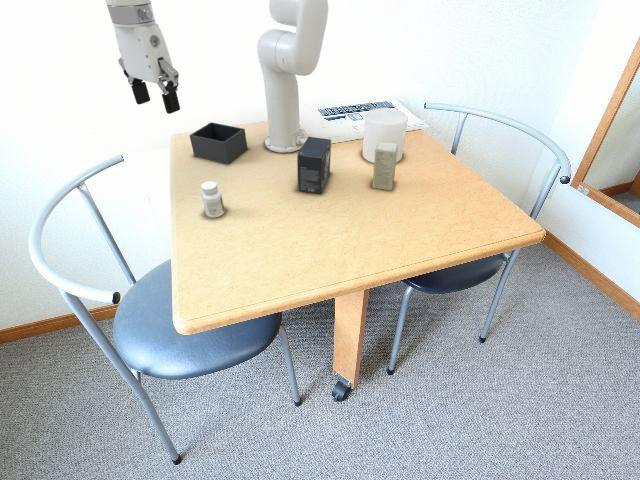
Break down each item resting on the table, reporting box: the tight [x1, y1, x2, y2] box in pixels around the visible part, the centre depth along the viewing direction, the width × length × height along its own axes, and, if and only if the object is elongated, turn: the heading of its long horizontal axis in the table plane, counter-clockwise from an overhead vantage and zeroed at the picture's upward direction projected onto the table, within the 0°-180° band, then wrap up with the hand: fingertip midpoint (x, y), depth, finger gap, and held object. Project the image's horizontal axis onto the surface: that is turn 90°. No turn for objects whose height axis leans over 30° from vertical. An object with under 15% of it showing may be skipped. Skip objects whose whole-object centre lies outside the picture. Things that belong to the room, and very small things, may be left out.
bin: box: [189, 121, 249, 165], centre depth 109 cm, size 12×10×7 cm
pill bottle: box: [201, 180, 225, 218], centre depth 85 cm, size 4×4×8 cm
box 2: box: [372, 142, 398, 191], centre depth 93 cm, size 5×4×11 cm
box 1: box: [296, 136, 332, 194], centre depth 95 cm, size 11×7×10 cm, turn 166°
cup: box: [362, 107, 409, 164], centre depth 106 cm, size 12×12×12 cm
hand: (158, 107), depth 79 cm, fingers open, 9 cm apart
